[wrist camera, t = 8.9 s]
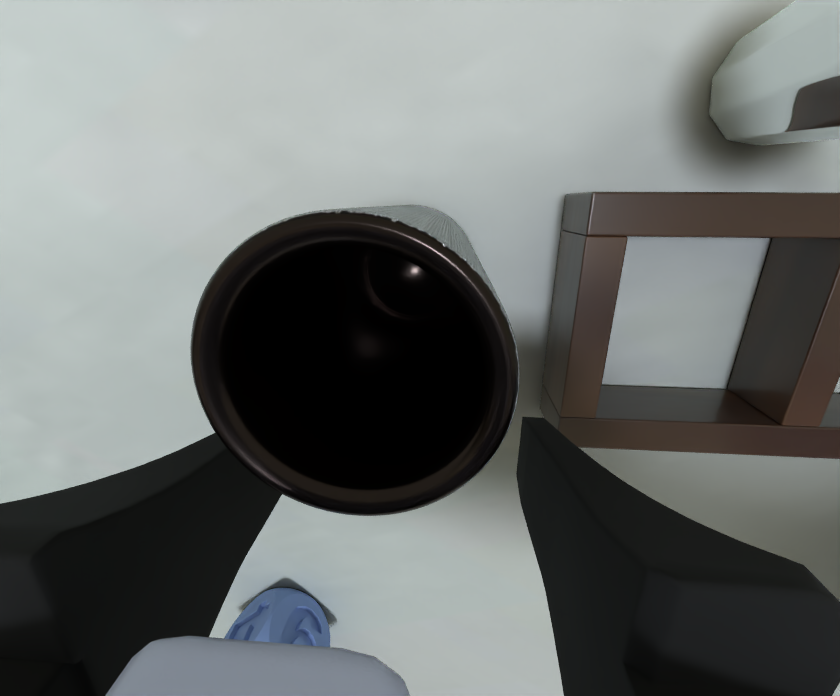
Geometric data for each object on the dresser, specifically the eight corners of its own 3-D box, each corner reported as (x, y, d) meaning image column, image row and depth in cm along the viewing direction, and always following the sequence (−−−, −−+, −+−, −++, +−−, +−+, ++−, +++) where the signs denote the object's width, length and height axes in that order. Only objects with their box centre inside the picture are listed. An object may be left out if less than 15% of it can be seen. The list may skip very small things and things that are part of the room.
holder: (941, 424, 16) (1040, 468, 13) (539, 408, 17) (555, 446, 14) (1060, 195, 13) (1219, 193, 10) (565, 194, 14) (592, 191, 11)
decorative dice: (239, 606, 22) (196, 688, 18) (287, 575, 21) (252, 656, 17) (291, 646, 23) (260, 733, 19) (339, 619, 22) (317, 705, 18)
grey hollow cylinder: (386, 342, 16) (290, 551, 6) (334, 236, 15) (116, 298, 5) (492, 300, 15) (566, 470, 6) (447, 183, 14) (441, 137, 4)
